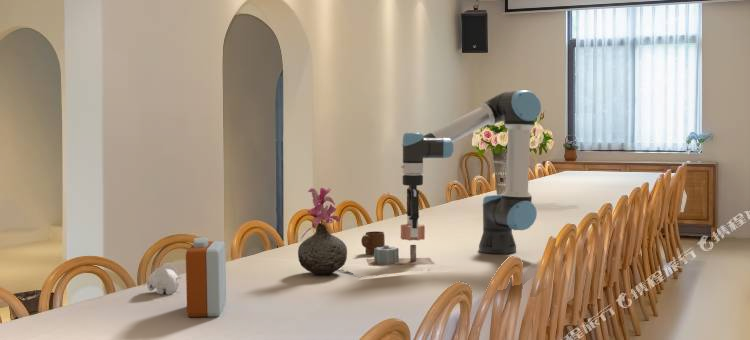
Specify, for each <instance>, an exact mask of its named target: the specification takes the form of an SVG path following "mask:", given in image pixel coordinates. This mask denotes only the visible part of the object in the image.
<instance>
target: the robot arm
mask: <svg viewBox="0 0 750 340" xmlns="http://www.w3.org/2000/svg"><path fill="white" fill-rule="evenodd" d="M541 104H542V103H541V100H540V99H539V96H537V94H536V93H534V92H532V91H530V90H524V89H523V90H521V89H520V90H513V91H512V90H511V91H504V92H502V93H499V94H497V95H495V96H493V97H492V98H489V99H488V100H485V102H482V103H481V104H479V107H478V108H476V109H474V110H472V111H470V112H468V113H466V114H464V115H462V116H460V117H458V118H456V119H455V120H454V119H453V121H450V122H448V123H447V124H446V123H445V124H444V125H442V126H440V127H439V128H436V129H434V130H432V131H431V132H428V133H427V134H425V135H424V133H422V132H405V133H403V135H402V144H401V145H402V165H401V166H400V168H401V169H402V185H403V186H408V188H407V189H406V215H407V217H406V224H410V237H418V224H419V218H420V215H419V214H420V213H419V212H420V211H419V207H420V206H419V194H420V191H419V190H418V186H423V184H424V176H423V175H422V174H423V173H424V159H448V158H451V157H452V156H453V154H454V142H457V141H458V140H460V139H462V138H464V137H467V136H469V135H471V134H473V133H474V132H476V131H477V130H480V129H481V128H484V127H486V126H493V125H495V124H497V123H501V122H504V127H505V128H506V129H507V145H506V146H507V147H506V148H507V149H506V150H507V151H506V174H505V175H506V176H505V191H504V192H502V193H501V194H493V195H485V196H484V197H483V201H482V230H483V231H482V235H481V238H480V241H479V244H478V252H481V253H484V254H495V255H500V254H501V255H504V254H505V255H506V254H513V253H516V252H517V244H516V241H515V238H514V236H513V231H525V230H528V229H530V228H531V227H532V226H533V225H534V223H535V222H536V219H537V216H538V215H537V212H538V211H537V208H536V206H535V205H534V203H533V202H532V200H533V199H532V197H533V196H532V194H531V193H530V192H529V176H530V175H529V174H530V173H529V171H530V149H531V147H530V146H531V145H530V144H531V130H532V129H533V128H534V127H535V123H536V119H537V118H538V116H539V115H540V114H541V110H542V105H541Z"/></svg>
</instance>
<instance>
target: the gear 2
mask: <svg viewBox="0 0 750 340" xmlns="http://www.w3.org/2000/svg"><path fill="white" fill-rule="evenodd" d="M425 227H426V226H425V224H419V223H418V237H410V224H407V223H405V224H400V239H401V240H403V241H404V240H406V241H410V242H411V241H421V240H423V241H424V240H425V238H426V237H425V232H426V229H425Z"/></svg>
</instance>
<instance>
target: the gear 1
mask: <svg viewBox="0 0 750 340" xmlns="http://www.w3.org/2000/svg"><path fill="white" fill-rule="evenodd" d="M399 250H400V249H399V247H395V246H389V249H383V247H376V248H374V255H373V256H374V258H373V259H374V262H377V263H379V264H380V263H385V264H389V263H397V262H399V257H400V256H399Z"/></svg>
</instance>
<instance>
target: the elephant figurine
mask: <svg viewBox="0 0 750 340" xmlns="http://www.w3.org/2000/svg"><path fill="white" fill-rule="evenodd" d="M180 279H182V276H178V269H177V268H176V266H175V265H174V264H173V263H172V262H171V261H170V262H165V263H164V264H163V265H162V266H160V267H157V268H156V269H154V271H153V272H152V273H151V274H150V277H149V279H148V280H147V281H146V282H144V283H143V284H142V287H144V286H145V285H146V286H147V290H148V291H153V290H155V289H156V292H157V294H158V295H163V294H165V293H166V294H165V295H173V294H174V293H175V292H177V290H178V289H179V285H180Z"/></svg>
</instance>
